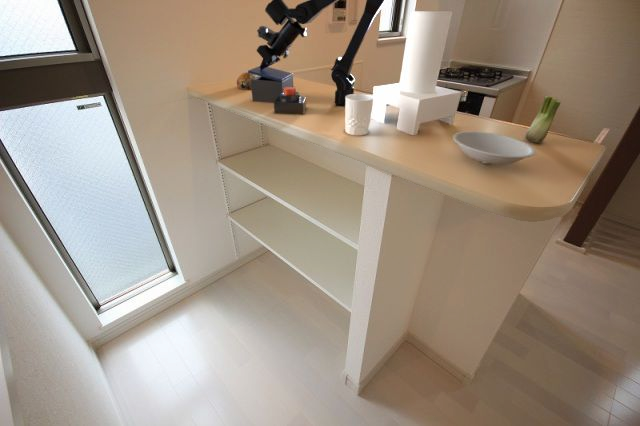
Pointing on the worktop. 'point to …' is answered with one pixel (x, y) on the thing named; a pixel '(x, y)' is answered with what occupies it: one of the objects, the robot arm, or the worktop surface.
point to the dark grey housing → (268, 88)
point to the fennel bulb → (542, 120)
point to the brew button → (289, 90)
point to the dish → (492, 147)
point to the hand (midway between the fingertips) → (260, 68)
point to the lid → (271, 73)
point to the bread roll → (245, 81)
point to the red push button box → (290, 104)
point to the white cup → (358, 113)
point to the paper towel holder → (420, 76)
